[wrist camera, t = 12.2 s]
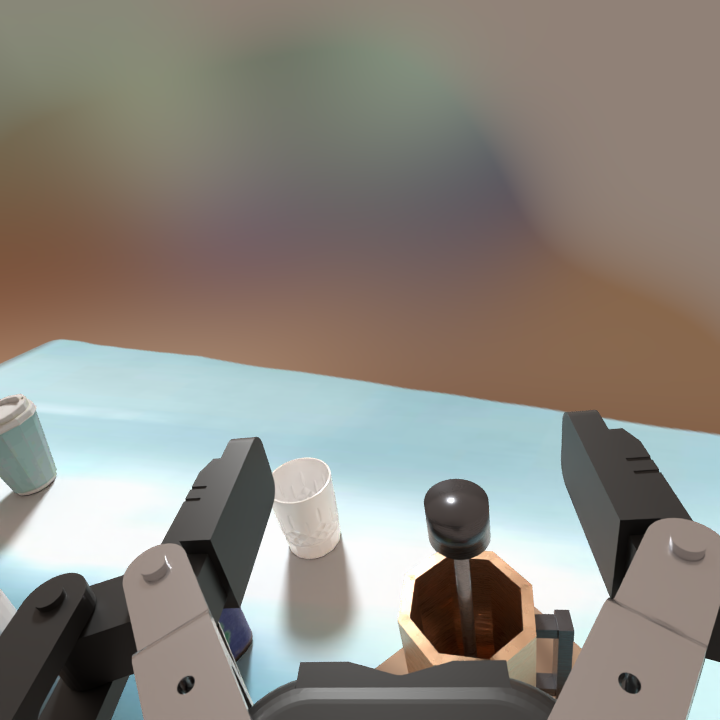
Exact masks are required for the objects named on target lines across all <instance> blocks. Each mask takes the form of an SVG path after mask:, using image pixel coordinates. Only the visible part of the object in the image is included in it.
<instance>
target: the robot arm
mask: <svg viewBox="0 0 720 720" xmlns="http://www.w3.org/2000/svg"><path fill="white" fill-rule="evenodd" d="M561 467H562V474H563V478H564V482H565V485H566V488H567V490H568V493H569V495H570V498H571V500H572V503H573V505H574V508H575V510H576V513H577V515H578V518H579V520H580V523H581V525H582V528H583V530H584V533H585V535H586V538H587V540H588V543H589V545H590V548H591V550H592V553H593V555H594V558H595V561H596V563H597V566H598V568H599V571H600V573H601V576H602V578H603V581H604V583H605V586H606V588H607V591H608V593H609V596H610V598H608V599H607V600H606V602H605V603H604V605H603V607H602V609H601V611H600V613H599V615H598V617H597V619H596V621H595V623H594V625H593V627H592V629H591V631H590V633H589V635H588V637H587V639H586V641H585V643H584V645H583V648H582V650H581V652H580V654H579V656H578V658H577V660H576V662H575V664H574V666H573V668H572V670H571V672H570V674H569V676H568V678H567V680H566V682H565V684H564V687H563V689H562V691H561V693H560V695H559V697H558V699H557V700H556V699H555V698H553V697H552V696H550V695H549V694H548V693H546V692H544V691H542V690H540V689H538V688H536V687H535V686H532V685H530V684H527V683H525V682H522V681H520V680H516V679H512V678H509V673H508V667H507V661H506V660H466V661H450V662H447V663H443V664H440V665H436V666H433V667H429V668H426V669H422V670H419V671H415V672H412V673H408V674H404V675H395V674H391V673H387V672H384V671H380V670H377V669H373V668H369V667H366V666H362V665H358V664H355V663H351V662H300V667H299V672H298V678H297V680H296V681H292V682H290V683H287V684H285V685H283V686H280V687H279V688H277V689H275V690H273V691H272V692H270V693H268V694H267V695H266V696H264V697H263V698H261V699H260V700H259V701H257V702H256V703H255V704H253V702H252V700H251V698H250V695H249V693H248V691H247V688H246V686H245V684H244V681H243V679H242V676H241V674H240V671H239V669H238V667H237V664H236V662H235V659H234V657H233V655H232V652H231V650H230V647H229V645H228V642H227V640H226V638H225V635H224V633H223V630H222V628H221V626H220V624H219V619H220V616H221V613H222V610H223V609H226V608H240V606H241V603H242V600H243V597H244V594H245V591H246V588H247V584H248V581H249V578H250V575H251V572H252V569H253V566H254V563H255V559H256V556H257V553H258V550H259V547H260V544H261V541H262V538H263V534H264V531H265V528H266V525H267V522H268V519H269V516H270V513H271V509H272V506H273V503H274V499H275V482H274V478H273V475H272V472H271V469H270V466H269V462H268V459H267V456H266V453H265V450H264V447H263V444H262V441H261V440H260V438H259V437H252V438H240V439H231V440H230V441H229V443H228V445H227V447H226V449H225V451H224V453H223V455H222V457H221V458H219V459H213V460H212V461H211V462H210V463H209V464H208V465H207V466H206V467H205V468H204V469H203V470H202V471H200V473H199V474H198V476H197V478H196V480H195V482H194V484H193V486H192V490H190V491H189V493H188V495H187V497H186V501H185V502H183V504H182V506H181V508H180V510H179V512H178V514H177V515H176V517H175V519H174V521H173V523H172V525H171V527H170V529H169V530H168V532H167V534H166V536H165V538H164V540H163V542H162V543H161V545H158V546H155V547H152V548H150V549H148V550H147V551H145V552H143V553H142V554H141V555H139V556H138V557H137V558H136V559H135V560H134V561H133V562H132V563H131V564H130V565H129V567H128V568H127V570H126V572H125V574H124V575H122V576H120V577H116V578H113V579H110V580H107V581H104V582H101V583H98V584H95V585H92V586H89V585H88V583H87V582H86V580H85V578H84V577H83V576H82V575H80V574H77V573H67V574H62V575H59V576H56V577H54V578H52V579H50V580H48V581H46V582H45V583H43V584H42V585H40V586H39V587H38V588H36V589H35V590H34V591H33V592H32V593H31V594H30V595H29V596H28V597H27V598H26V599H25V600H24V602H23V603H22V605H21V606H20V607H19V609H18V610H16V608H15V607H14V606H13V605H12V603H11V602H10V601H9V599H8V598H7V597H6V595H5V594H4V593H3V592H2V590H1V589H0V720H111V718H112V716H113V713H114V711H115V709H116V706H117V704H118V702H119V699H120V697H121V694H122V692H123V690H124V687H125V685H126V682H127V680H128V678H129V675H132V674H134V675H135V679H136V684H137V689H138V694H139V699H140V704H141V708H142V713H143V718H144V720H688V716H689V713H690V709H691V706H692V703H693V699H694V696H695V692H696V689H697V685H698V682H699V679H700V675H701V672H702V668H703V665H704V662H705V658H707V659H710V660H714V661H717V662H720V536H719V535H718V534H717V533H716V532H714V531H713V530H711V529H710V528H708V527H706V526H704V525H702V524H699V523H697V522H694V521H693V520H692V519H691V517H690V516H689V514H688V513H687V511H686V510H685V508H684V507H683V505H682V504H681V502H680V501H679V499H678V498H677V496H676V495H675V493H674V492H673V490H672V488H671V487H670V485H669V484H668V482H667V481H666V479H665V478H664V476H663V475H662V473H659V469H658V467H657V466H656V464H655V463H654V461H653V460H651V458H650V455H649V454H648V452H647V451H646V449H645V448H644V446H643V444H642V443H641V441H639V440H638V439H637V438H635V437H634V436H632V435H631V434H630V433H628V432H627V431H625V430H624V429H623V428H620V429H608V427H607V426H606V424H605V422H604V421H603V419H602V417H601V416H600V414H599V412H598V411H597V410H588V411H576V412H565V413H564V414H563V421H562V448H561Z"/></svg>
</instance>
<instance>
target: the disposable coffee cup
mask: <svg viewBox="0 0 720 720" xmlns="http://www.w3.org/2000/svg"><path fill="white" fill-rule="evenodd" d="M56 474H57V473H56V466H55V463H54V460H53V458H52V455H51V452H50V449H49V446H48V443H47V441H46V438H45V435H44V432H43V429H42V426H41V423H40V421H39V418H38V415H37V412H36V406H35V405H34V403H33V402H32V401H30V400H29V399H27V398H26V397H25V396H24V395H22V394H17V395H12V396H8V397H5V398H3V399H0V477H1V479H2V480H3V481H4V482H5V483H6V484H7V485H8V486H9V487H10V488H11V489H12V490H13V491H14V492H15V493H18V494H19V495H30V494H33V493H36V492H38V491H40V490H42V489H43V488H45V487H47V486H48V485H49V484H50V483H51V482H52V481H53V480H54V479H55V477H56Z"/></svg>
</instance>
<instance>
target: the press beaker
mask: <svg viewBox="0 0 720 720" xmlns="http://www.w3.org/2000/svg"><path fill="white" fill-rule="evenodd" d="M469 566H470V577H471V589H472V601H473V612H474V624H475V636H476V647H477V658H472V657H464V648H463V639H462V630H461V620H460V611H459V601H458V592H457V583H456V573H455V564H454V559H450V558H447V557H444V556H442V555H441V554H439V553H438V552H437V553H436V554H434V555H433V556H432V557H430V558H429V559H427V560H426V561H424V562H423V563H421V564H420V565H418V566H417V567H416V568H414V569H413V570H411V571H410V572H408V573H407V574H405V580H404V587H403V593H402V599H401V605H400V611H399V617H398V624H399V629H400V634H401V639H402V644H403V649H404V654H405V659H406V664H407V669H408V673H412V672H415V671H419V670H422V669H426V668H429V667H433V666H436V665H440V664H443V663H447V662H450V661H466V660H506V661H507V667H508V673H509V678H512V679H516V680H520V681H522V682H525V683H527V684H530V685H532V686H535V687H536V688H538V689H540V690H542V691H544V692H546V693H548V694H549V695H550V696H555V698H556V700H557V699H558V697H559V695H560V693H561V691H562V689H563V687H564V684H565V682H566V680H567V678H568V676H569V674H570V672H571V670H572V656H573V641H574V628H573V624H572V620H571V616H570V613H569V610H554V614H534V602H533V591H532V585H531V584H530V583H529V582H528V581H527V580H526V579H524V578H523V577H522V576H521V575H520V574H519V573H517V572H516V571H515V570H514V569H513V568H511V567H510V566H509V565H508V564H507V563H506V562H504V561H503V560H502V559H501V558H500V557H499V556H497V555H496V554H495V553H494V552H491V551H484V552H482V553H481V554H480V555H478V556H476V557H474V558H471V559H469ZM536 638H549V639H553V663H552V673H536ZM480 658H481V659H480Z"/></svg>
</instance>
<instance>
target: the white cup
mask: <svg viewBox="0 0 720 720" xmlns="http://www.w3.org/2000/svg"><path fill="white" fill-rule="evenodd" d="M272 475H273V478H274V482H275V499H274V503H273V506H272V508H273V510H274V513H275V515H276V518H277V520H278V522H279V524H280V527H281V529H282V531H283V534H284V535H285V536H286V539H287V541H288V543H289V546H290V549H291V551H292V552H293V553H294V554H296V555H297V556H298V557H300V558H305V559H314V558H319V557H323V556H324V555H326V554H327V553H329V552H330V551H332V550H333V549H334V548H335V546H336V545H337V543H338V542H339V540H340V533H341V529H340V524H339V519H338V510H337V503H336V498H335V492H334V487H333V482H332V477H331V471H330V468H329V467H328V465H327V464H326V463H325V462H323V461H321V460H319V459H315V458H299V459H295V460H291V461H289V462H286V463H284V464H283V465H281V466H279V467H278V468H277V469H275V470H274V471H273V472H272Z"/></svg>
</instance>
